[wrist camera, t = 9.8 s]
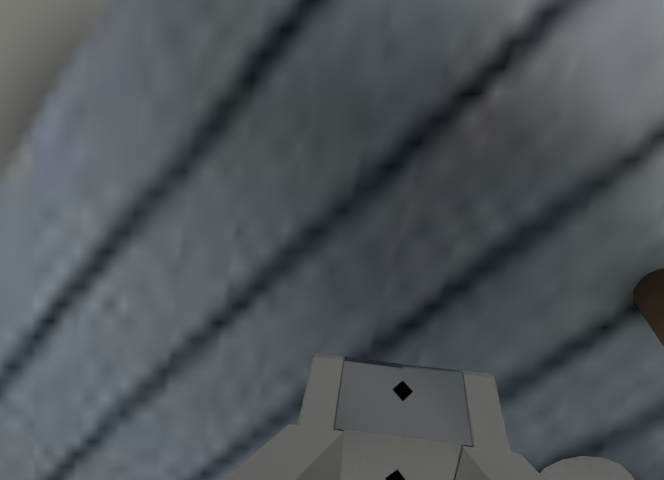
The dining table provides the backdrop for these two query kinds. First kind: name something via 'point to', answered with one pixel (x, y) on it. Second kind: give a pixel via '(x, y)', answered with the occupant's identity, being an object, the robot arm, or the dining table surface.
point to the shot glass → (585, 469)
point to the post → (652, 301)
